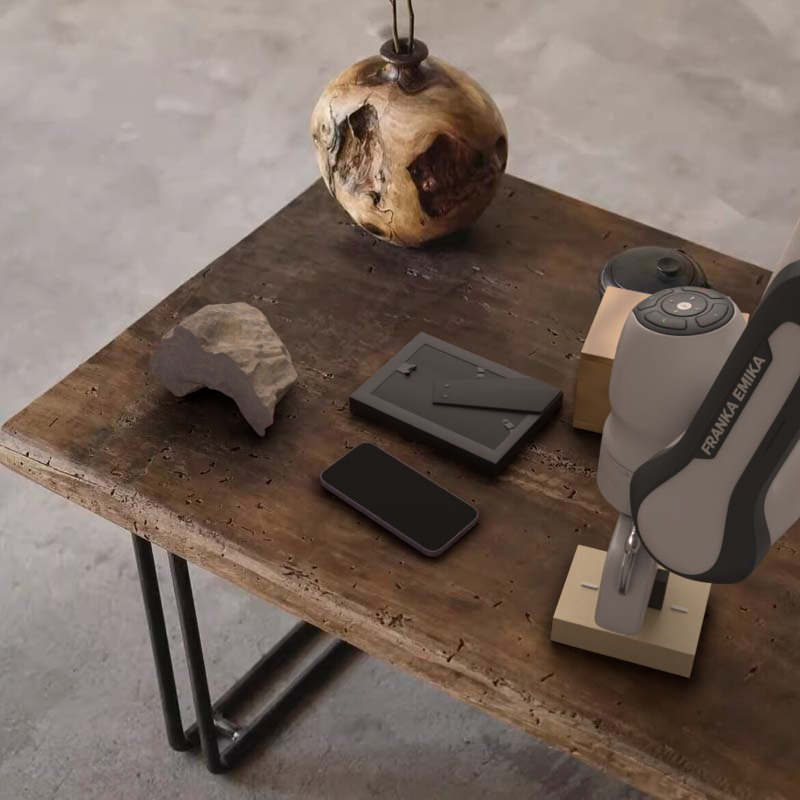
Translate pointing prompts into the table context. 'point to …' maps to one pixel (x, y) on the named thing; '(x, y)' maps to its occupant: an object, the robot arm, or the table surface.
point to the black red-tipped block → (659, 589)
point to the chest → (592, 396)
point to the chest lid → (613, 323)
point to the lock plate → (661, 629)
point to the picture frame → (457, 403)
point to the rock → (227, 359)
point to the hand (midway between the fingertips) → (633, 585)
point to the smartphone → (399, 498)
